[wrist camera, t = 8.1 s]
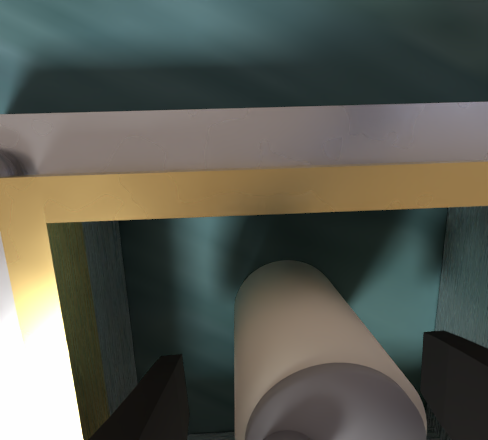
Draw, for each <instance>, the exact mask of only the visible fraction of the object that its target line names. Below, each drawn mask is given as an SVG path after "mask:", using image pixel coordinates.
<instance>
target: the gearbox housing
mask: <svg viewBox="0 0 488 440" xmlns="http://www.w3.org/2000/svg"><path fill="white" fill-rule="evenodd" d="M445 207H448V215H447V224H446V234H445V243H444V252H443V261H442V271H441V280H440V289H439V298H438V308H437V317H436V326H435V331H442V330H444V331H447V332H450V333H452V334H455V335H458V336H460V337H462V338H465V339H467V340H470V341H472V342H474V343H477V344H479V345H481V346H483V347H486V348H488V102H456V103H418V104H380V105H342V106H304V107H266V108H229V109H191V110H153V111H115V112H77V113H39V114H1V115H0V440H88V439H89V438H90V437H91V436H92V435H93V434H94V433H95V432H96V431H97V430H98V429H99V428H100V427H101V426H102V424H103V423H104V422H105V421H106V420H107V419H108V418H109V417H110V416H111V415H112V413H113V412H114V411H115V410H116V409H117V408H118V407H119V405H120V404H121V403H122V402H123V401H124V400H125V398H126V397H127V396H128V395H129V394H130V393H131V391H132V390H133V389H134V388H135V387H136V385H137V384H138V382H137V373H136V365H135V356H134V348H133V340H132V331H131V323H130V315H129V306H128V298H127V290H126V281H125V273H124V264H123V256H122V248H121V239H120V231H119V223H118V220H139V219H165V218H190V217H216V216H241V215H267V214H292V213H317V212H343V211H368V210H394V209H419V208H445ZM426 421H427V433H426V439H427V440H451V439H450V437H449V436H448V435H447V433H446V432H445V431H444V429H443V428H442V426H441V425H440V423H439V422H438V420H437V418H436V417H435V415H434V414H433V412H432V410H431V409H430V407H429V405H428V404H427V410H426ZM187 440H235V431H234V432H219V433H203V434H188V436H187Z"/></svg>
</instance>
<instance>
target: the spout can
mask: <svg viewBox="0 0 488 440" xmlns="http://www.w3.org/2000/svg"><path fill="white" fill-rule="evenodd" d="M234 388H235V440H427V439H426V433H427V421H426V413H425V410H424V406H423V403H422V401H421V399H420V396H419V394H418V393H417V391H416V390H415V388H414V387H413V385H412V384H411V383H410V381H409V380H408V379H407V378H406V376H405V375H404V374H403V373H402V371H401V370H400V369H399V368H398V366H397V365H396V364H395V363H394V361H393V360H392V359H391V358H390V356H389V355H388V354H387V353H386V351H385V350H384V349H383V348H382V346H381V345H380V344H379V343H378V341H377V340H376V339H375V338H374V336H373V335H372V334H371V332H370V331H369V330H368V329H367V327H366V326H365V325H364V324H363V322H362V321H361V320H360V319H359V317H358V316H357V315H356V314H355V312H354V311H353V310H352V309H351V307H350V306H349V305H348V304H347V302H346V301H345V300H344V299H343V297H342V296H341V295H340V294H339V292H338V291H337V290H336V289H335V287H334V286H333V285H332V284H331V282H330V281H329V280H328V278H327V277H326V276H325V275H324V274H323V273H322V272H321V271H319V270H318V269H316V268H315V267H313V266H311V265H309V264H307V263H304V262H300V261H295V260H281V261H276V262H272V263H269V264H266V265H264V266H262V267H260V268H258V269H257V270H255V271H254V272H253V273H252V274H250V275H249V276H248V277H247V278H246V280H245V281H244V282H243V284H242V285H241V287H240V289H239V291H238V293H237V296H236V299H235V304H234Z"/></svg>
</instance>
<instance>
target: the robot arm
mask: <svg viewBox="0 0 488 440" xmlns="http://www.w3.org/2000/svg"><path fill="white" fill-rule="evenodd" d="M420 392H421V394H422V395H423V397H424V399H425V400H426V402H427V404H428V405H429V407H430V409H431V410H432V412H433V414H434V415H435V417H436V418H437V420H438V422H439V423H440V425H441V426H442V428H443V429H444V431H445V432H446V433H447V435H448V436H449V437H450V439H451V440H488V348H486V347H483V346H481V345H479V344H477V343H474V342H472V341H470V340H467V339H465V338H462V337H460V336H458V335H455V334H452V333H450V332H447V331H444V330H442V331H431V332H424V334H423V352H422V370H421V387H420ZM189 415H190V413H189V405H188V397H187V390H186V382H185V374H184V366H183V358H182V354H178V355H167V356H161V357H160V358H159V359H158V360H157V361H156V362H155V364H154V365H153V366H152V367H151V368H150V370H149V371H148V372H147V373H146V375H145V376H144V377H143V378H142V379H141V381H140V382H139V383H138V384H137V385H136V387H135V388H134V389H133V390H132V391H131V393H130V394H129V395H128V396H127V397H126V398H125V400H124V401H123V402H122V403H121V404H120V405H119V407H118V408H117V409H116V410H115V411H114V412H113V413H112V415H111V416H110V417H109V418H108V419H107V420H106V421H105V422H104V423H103V424H102V426H101V427H100V428H99V429H98V430H97V431H96V432H95V433H94V434H93V435H92V436H91V437H90V438H89V439H88V440H187V436H188V425H189Z"/></svg>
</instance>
